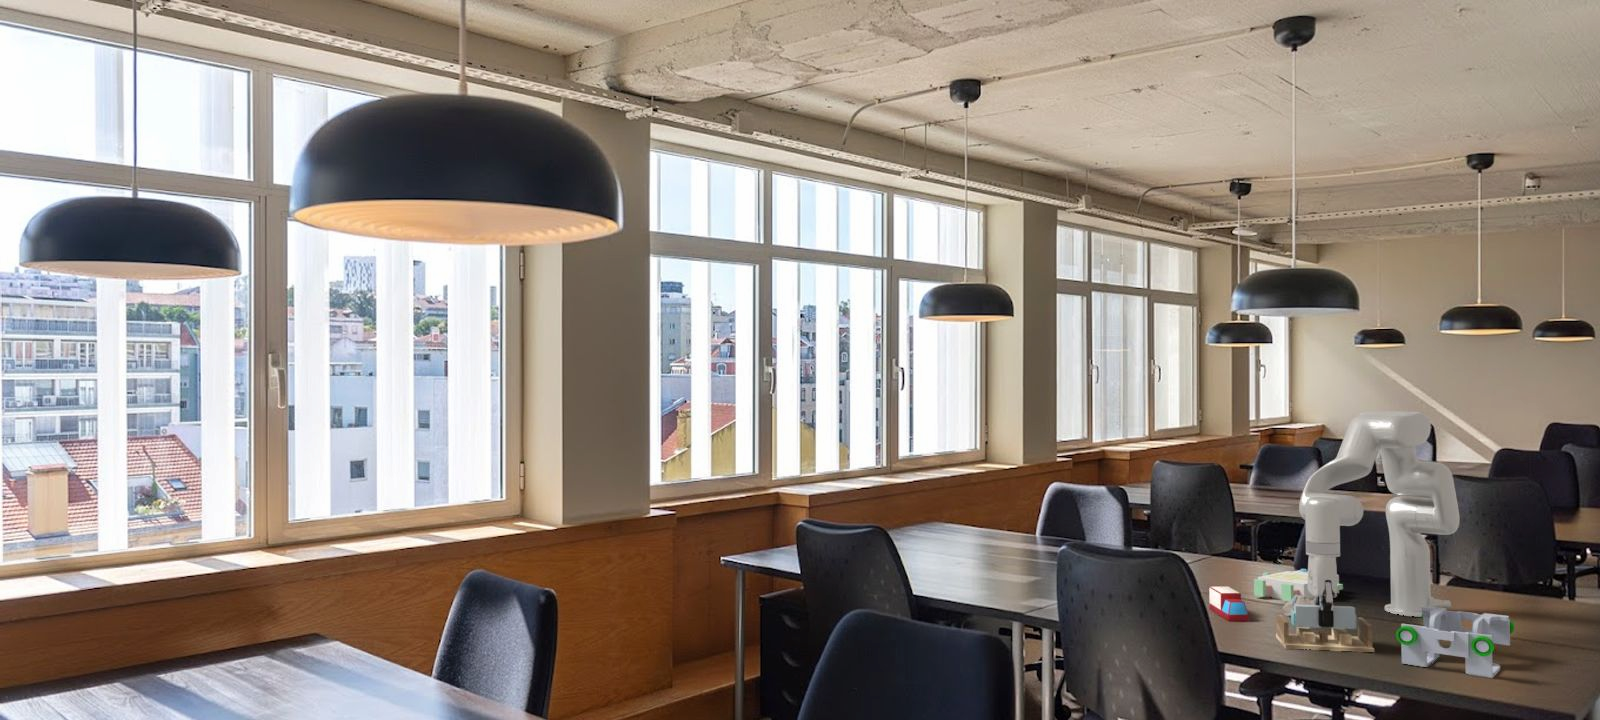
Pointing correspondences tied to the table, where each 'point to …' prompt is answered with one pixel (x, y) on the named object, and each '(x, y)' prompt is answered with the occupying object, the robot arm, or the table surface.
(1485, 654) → the bracket
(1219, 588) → the toy truck
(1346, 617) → the blocks in teal channel
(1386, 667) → the table surface
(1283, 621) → the cradle
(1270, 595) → the decorative block
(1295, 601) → the concrete fragment
